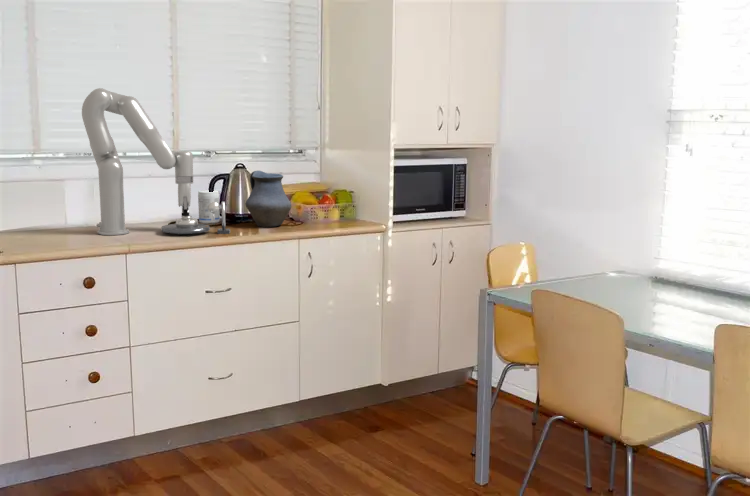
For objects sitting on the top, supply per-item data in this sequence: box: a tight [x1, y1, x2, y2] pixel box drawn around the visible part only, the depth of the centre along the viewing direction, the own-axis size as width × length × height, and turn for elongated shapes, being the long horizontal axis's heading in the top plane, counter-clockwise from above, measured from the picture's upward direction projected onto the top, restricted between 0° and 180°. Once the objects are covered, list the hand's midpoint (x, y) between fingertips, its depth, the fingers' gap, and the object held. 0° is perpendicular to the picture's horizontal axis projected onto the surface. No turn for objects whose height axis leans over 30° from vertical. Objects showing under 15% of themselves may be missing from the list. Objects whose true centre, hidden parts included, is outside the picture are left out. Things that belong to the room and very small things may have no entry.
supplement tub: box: [197, 189, 221, 224], centre depth 357 cm, size 10×10×15 cm
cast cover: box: [175, 214, 199, 228], centre depth 326 cm, size 9×9×5 cm
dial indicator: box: [208, 201, 231, 235], centre depth 327 cm, size 9×5×14 cm, turn 97°
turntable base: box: [176, 233, 198, 236], centre depth 326 cm, size 10×10×1 cm
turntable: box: [160, 223, 211, 235], centre depth 326 cm, size 20×20×2 cm
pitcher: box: [244, 170, 292, 228], centre depth 348 cm, size 21×22×25 cm
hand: (185, 222), depth 332 cm, fingers closed
